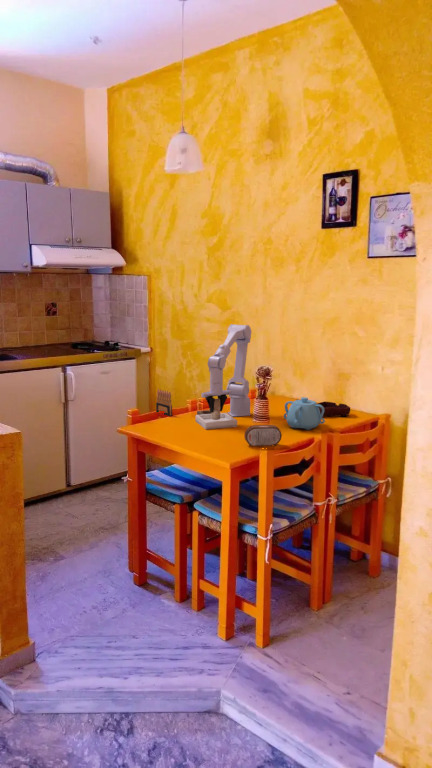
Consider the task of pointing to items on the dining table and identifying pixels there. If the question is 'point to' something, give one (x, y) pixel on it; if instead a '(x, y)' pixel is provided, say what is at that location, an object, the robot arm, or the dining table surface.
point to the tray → (216, 421)
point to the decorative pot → (304, 414)
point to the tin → (263, 435)
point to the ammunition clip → (164, 402)
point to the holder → (204, 412)
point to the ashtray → (334, 409)
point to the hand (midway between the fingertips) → (216, 411)
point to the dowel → (216, 410)
